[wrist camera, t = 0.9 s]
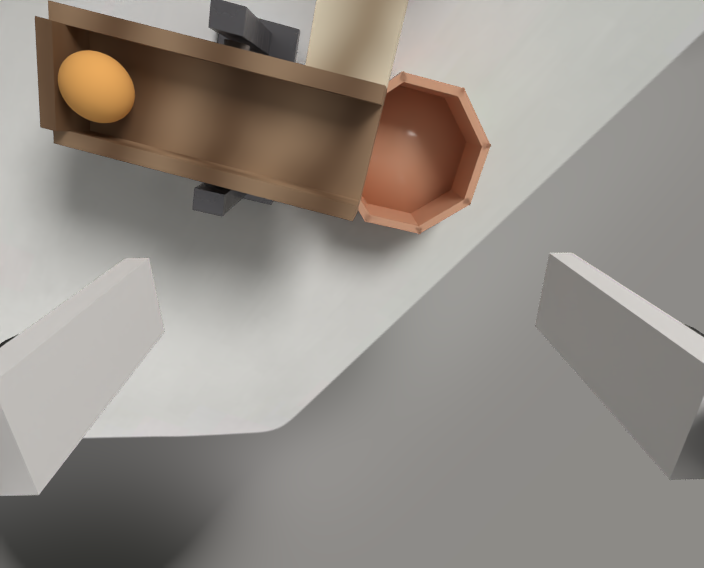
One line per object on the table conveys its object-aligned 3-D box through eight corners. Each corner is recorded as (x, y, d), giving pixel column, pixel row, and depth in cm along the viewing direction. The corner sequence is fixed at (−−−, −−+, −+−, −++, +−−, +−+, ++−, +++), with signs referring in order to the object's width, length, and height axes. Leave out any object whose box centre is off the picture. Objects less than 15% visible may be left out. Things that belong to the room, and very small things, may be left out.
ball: (85, 81, 28) (27, 72, 24) (123, 42, 26) (68, 27, 22) (121, 136, 28) (70, 135, 25) (160, 101, 27) (113, 96, 23)
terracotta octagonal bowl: (314, 130, 36) (309, 133, 31) (430, 51, 34) (444, 43, 29) (380, 237, 40) (384, 254, 35) (488, 173, 38) (508, 182, 33)
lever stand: (206, 187, 38) (162, 213, 28) (224, 10, 32) (176, -29, 23) (272, 202, 38) (249, 232, 29) (300, 31, 33) (283, 1, 24)
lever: (109, 146, 32) (41, 151, 26) (112, -124, 26) (23, -198, 20) (359, 211, 32) (348, 232, 26) (422, -48, 25) (428, -101, 19)
